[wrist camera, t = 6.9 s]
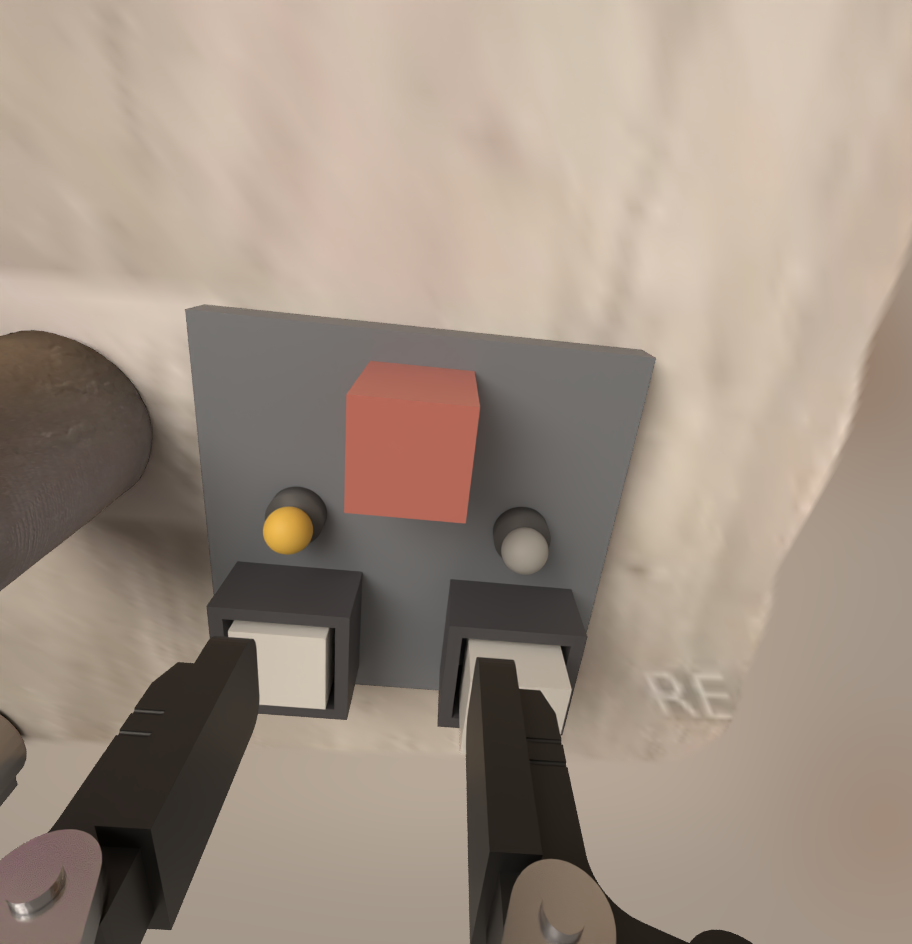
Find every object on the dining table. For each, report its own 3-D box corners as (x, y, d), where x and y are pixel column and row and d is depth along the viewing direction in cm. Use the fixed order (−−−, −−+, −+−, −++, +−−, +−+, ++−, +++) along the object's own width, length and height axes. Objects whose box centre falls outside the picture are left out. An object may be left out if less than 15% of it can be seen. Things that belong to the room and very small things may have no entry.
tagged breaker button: (340, 655, 32) (325, 709, 28) (259, 649, 32) (234, 702, 28) (341, 590, 30) (325, 638, 26) (255, 583, 30) (227, 631, 26)
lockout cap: (463, 466, 27) (465, 523, 22) (366, 457, 27) (344, 512, 22) (474, 371, 25) (480, 407, 20) (370, 360, 25) (346, 394, 20)
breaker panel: (563, 676, 36) (583, 755, 30) (234, 651, 35) (192, 728, 29) (642, 349, 27) (690, 378, 21) (204, 304, 26) (136, 321, 20)
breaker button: (542, 698, 30) (553, 760, 27) (459, 691, 30) (459, 754, 26) (556, 632, 28) (571, 689, 25) (468, 625, 28) (470, 682, 25)
